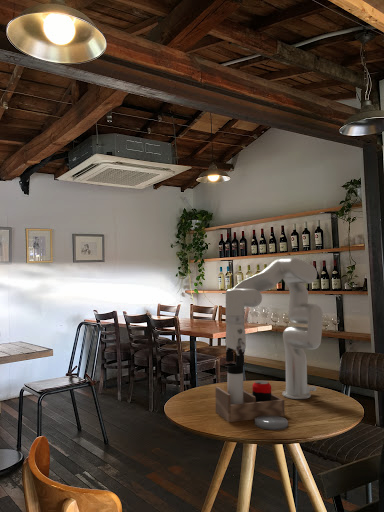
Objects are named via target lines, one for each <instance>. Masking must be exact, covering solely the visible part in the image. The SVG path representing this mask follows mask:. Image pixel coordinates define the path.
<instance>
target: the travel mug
mask: <svg viewBox="0 0 384 512" xmlns="http://www.w3.org/2000/svg"><path fill="white" fill-rule="evenodd" d="M226 383H227V393H228V394H230V395H231V405H233V404H243V390H244V366H236V364H233V365H227V382H226Z"/></svg>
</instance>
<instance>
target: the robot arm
mask: <svg viewBox="0 0 384 512" xmlns="http://www.w3.org/2000/svg"><path fill="white" fill-rule="evenodd" d="M317 277H318V272H317V269H316V268H315V266H314V265H312V264H311V263H308V262H307V261H304V260H302V259H299V258H296V257H289V258H288V257H285V258H283V257H282V258H281V257H280V258H276V259H275V260H273V261H272V262H271V263H269V265H267V266H266V267H265V268H264V269H263V270H261V271H260V272H259V273H256V274H254V275H252V276H251V277H248V278H246V279H243V280H242V281H240V282H238V284H236V285H235V286H234V287H233V288H229V289H227V290H226V291H225V339H224V342H225V361H226V362H230V363H231V362H232V363H233V362H234V360H235V365H236V366H243V367H244V366H245V351H246V348H247V340H246V328H245V308H256V307H258V306H260V305H261V304H262V300H263V296H262V292H266V291H269V290H272V289H273V288H275V287H276V285H278V284H279V283H280V282H281V281H282V280H283V282H284V283H285V284H286V286H287V288H288V291H289V300H288V303H289V304H288V314H287V317H288V320H289V322H291V323H293V324H299V325H307V327H305V326H297V325H291V326H287V327H286V328H285V329H284V330H283V332H282V341H283V346H284V353H285V355H284V356H285V357H284V358H285V390H283V391H282V396H283V397H284V398H287V399H292V400H306V399H309V398H311V395H312V394H311V393H310V392H311V391H312V392H313V391H314V392H315V391H317V387H316V386H311V385H308V373H307V372H308V369H307V368H308V367H307V366H308V365H307V363H308V362H307V361H308V360H307V355H306V352H305V350H306V349H307V350H316V349H319V347H320V346H321V342H322V334H323V322H324V321H323V320H324V314H323V309H322V308H321V306H320V305H319V304H317V303H316V304H315V303H309V291H308V289H307V287H306V285H305V284H312V283H315V281H316V280H317ZM304 349H305V350H304ZM235 353H236V355H235ZM234 356H235V357H234Z"/></svg>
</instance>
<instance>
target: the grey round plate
mask: <svg viewBox="0 0 384 512" xmlns="http://www.w3.org/2000/svg"><path fill="white" fill-rule="evenodd" d="M254 425H255V426H256V427H257V428H259V429H263V430H268V431H280V430H281V431H282V430H284V429H286V428H288V426H289V421H288V419H286V418H285V417H284V416H274V415H263V416H258V417H256V418H255V419H254Z"/></svg>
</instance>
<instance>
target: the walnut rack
mask: <svg viewBox="0 0 384 512" xmlns="http://www.w3.org/2000/svg"><path fill="white" fill-rule="evenodd" d="M285 407H286V406H285V399H283V398H281V397H279V396H277V395H276V394H275V393H272V392H271V401H263V402H256V397H255V396H253V395H252V393H250V392H247V391H246V390H245V389H243V404H233V405H231V395H230V394H228V391H225V390H224V389H222V388H220V387H219V386H215V413H217V415H219V416H220V417H221V418H223V419H224V420H225V421H227V423H232V422H241V421H248V420H249V421H250V420H255V418H256V417H258V416H263V415H274V416H280V417H284V416H285V415H286V414H285V413H286V412H285Z"/></svg>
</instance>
